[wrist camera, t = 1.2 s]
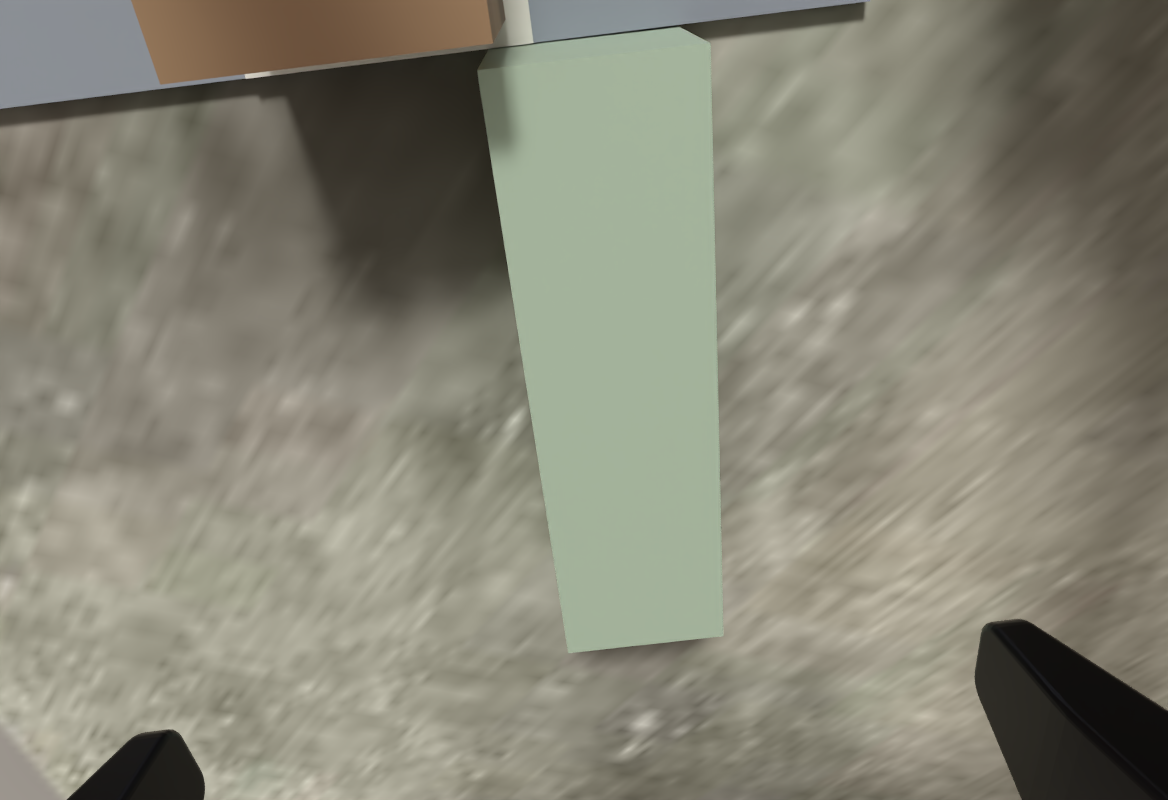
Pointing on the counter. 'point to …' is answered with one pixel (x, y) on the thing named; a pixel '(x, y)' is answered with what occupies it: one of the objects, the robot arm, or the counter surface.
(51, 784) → the counter surface
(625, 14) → the mat
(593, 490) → the plank
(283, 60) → the tan wood block
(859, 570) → the counter surface
